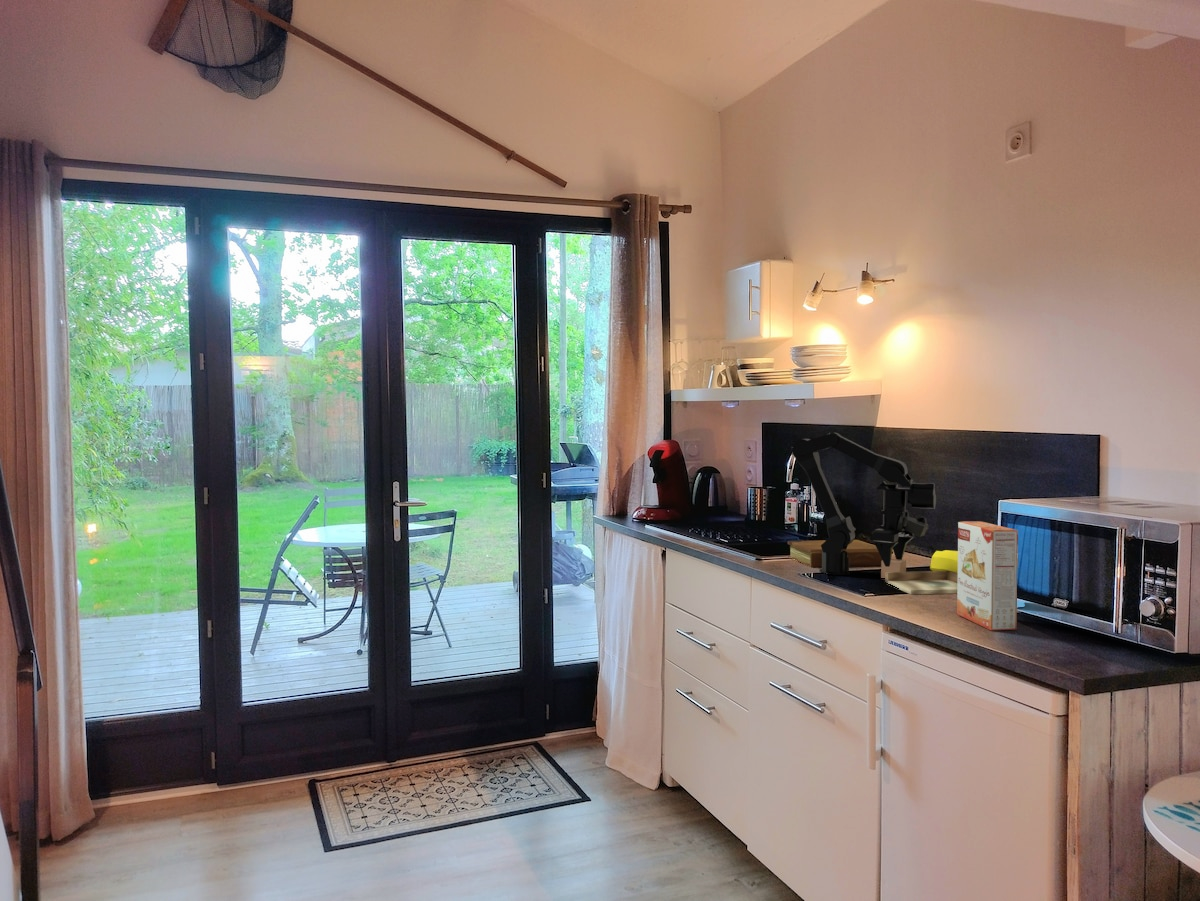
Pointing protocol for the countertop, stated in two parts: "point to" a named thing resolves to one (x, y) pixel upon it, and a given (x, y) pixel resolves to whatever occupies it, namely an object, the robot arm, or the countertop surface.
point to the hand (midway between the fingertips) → (893, 564)
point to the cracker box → (987, 575)
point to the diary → (857, 550)
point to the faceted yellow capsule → (945, 561)
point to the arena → (924, 581)
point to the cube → (893, 567)
